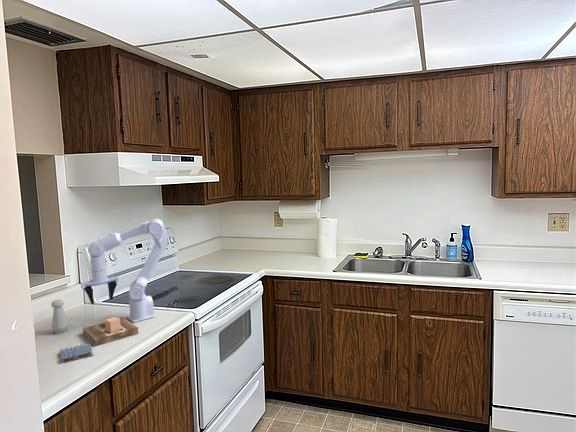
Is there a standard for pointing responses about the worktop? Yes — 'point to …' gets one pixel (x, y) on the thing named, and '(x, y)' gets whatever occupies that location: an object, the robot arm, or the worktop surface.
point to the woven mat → (76, 353)
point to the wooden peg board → (101, 337)
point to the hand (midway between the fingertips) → (101, 301)
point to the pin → (112, 325)
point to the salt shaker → (59, 317)
